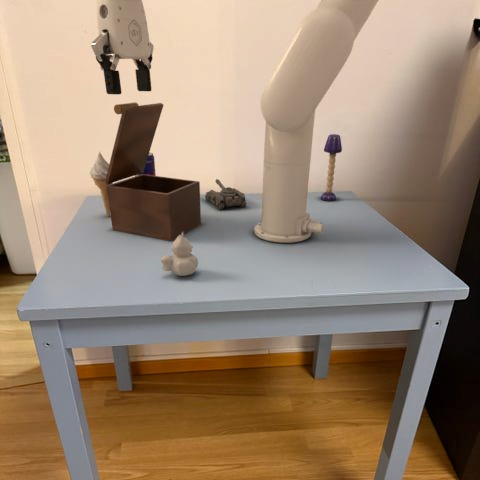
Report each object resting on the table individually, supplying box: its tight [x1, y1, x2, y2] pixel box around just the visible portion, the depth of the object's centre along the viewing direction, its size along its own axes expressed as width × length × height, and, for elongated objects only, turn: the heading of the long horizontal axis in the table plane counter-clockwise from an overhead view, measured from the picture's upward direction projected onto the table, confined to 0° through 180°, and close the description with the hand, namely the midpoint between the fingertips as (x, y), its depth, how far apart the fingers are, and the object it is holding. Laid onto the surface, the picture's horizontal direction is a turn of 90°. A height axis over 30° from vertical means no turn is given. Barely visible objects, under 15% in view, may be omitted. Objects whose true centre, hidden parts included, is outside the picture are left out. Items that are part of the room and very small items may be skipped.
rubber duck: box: [160, 232, 199, 277], centre depth 79 cm, size 5×7×8 cm
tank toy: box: [204, 178, 247, 211], centre depth 119 cm, size 12×10×5 cm
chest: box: [107, 174, 202, 242], centre depth 101 cm, size 16×13×10 cm
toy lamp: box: [320, 133, 343, 202], centre depth 121 cm, size 5×5×17 cm
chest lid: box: [105, 102, 164, 184], centre depth 96 cm, size 16×13×5 cm
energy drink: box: [134, 152, 157, 177], centre depth 119 cm, size 5×5×12 cm
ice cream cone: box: [89, 151, 114, 217], centre depth 106 cm, size 6×6×15 cm
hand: (130, 92), depth 91 cm, fingers open, 9 cm apart
